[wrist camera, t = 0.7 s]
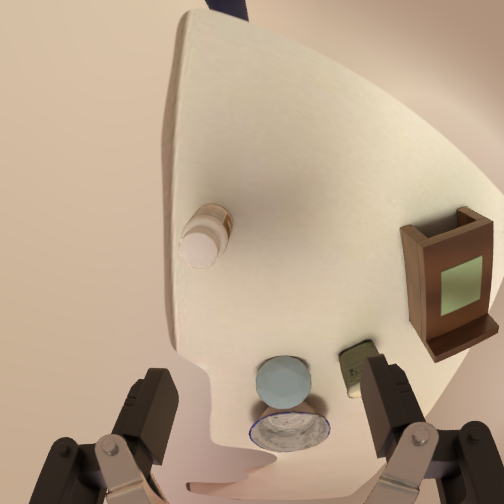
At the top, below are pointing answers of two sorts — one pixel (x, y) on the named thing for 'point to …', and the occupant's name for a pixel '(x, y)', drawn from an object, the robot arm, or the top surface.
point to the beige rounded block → (355, 365)
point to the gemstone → (283, 382)
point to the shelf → (450, 284)
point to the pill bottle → (205, 236)
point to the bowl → (290, 428)
